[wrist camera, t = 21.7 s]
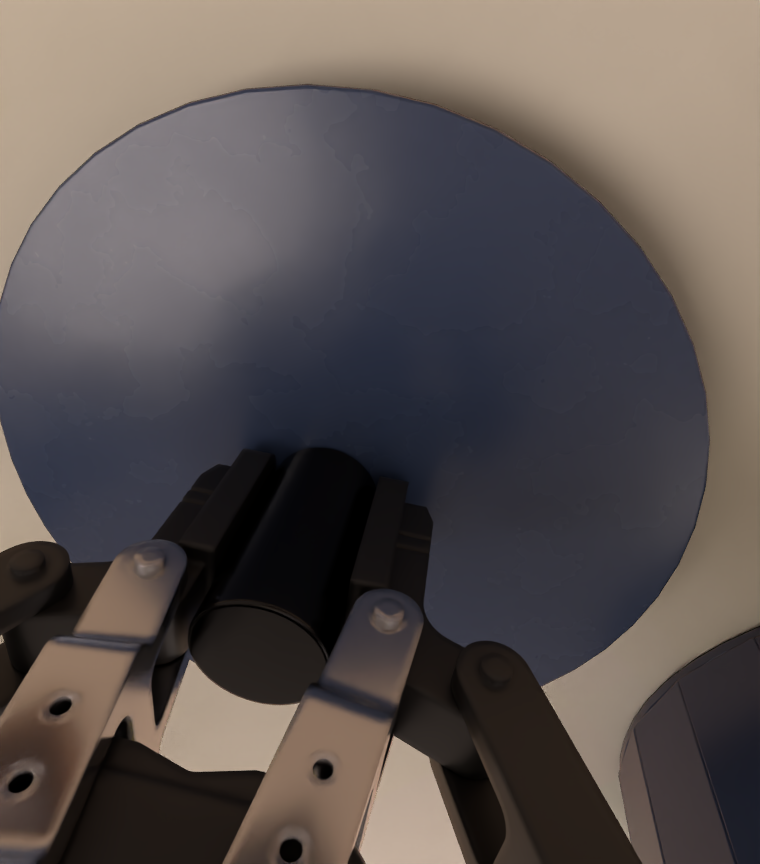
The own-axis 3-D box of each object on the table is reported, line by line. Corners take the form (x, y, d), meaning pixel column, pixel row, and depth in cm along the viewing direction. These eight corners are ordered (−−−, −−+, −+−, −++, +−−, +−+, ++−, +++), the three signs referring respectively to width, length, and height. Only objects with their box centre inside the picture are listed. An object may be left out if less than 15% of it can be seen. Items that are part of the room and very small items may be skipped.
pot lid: (-90, 377, 16) (-372, 513, 11) (412, -171, 9) (310, -545, 4) (304, 734, 22) (245, 942, 16) (810, 562, 15) (998, 828, 9)
